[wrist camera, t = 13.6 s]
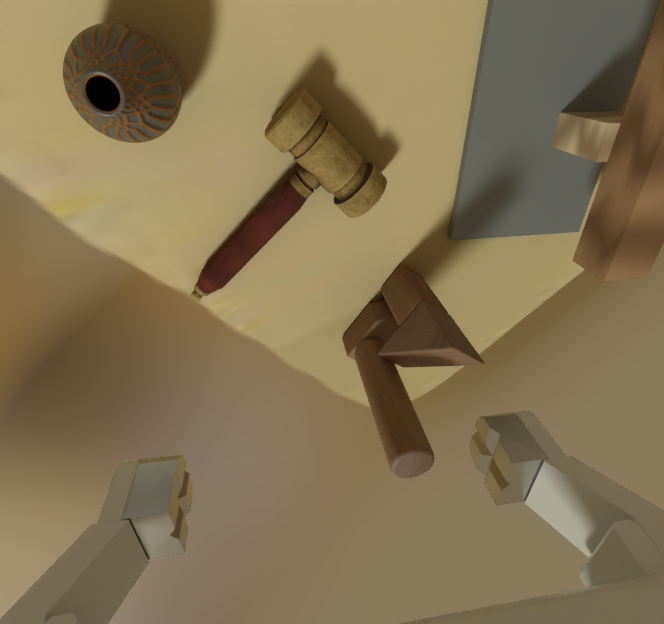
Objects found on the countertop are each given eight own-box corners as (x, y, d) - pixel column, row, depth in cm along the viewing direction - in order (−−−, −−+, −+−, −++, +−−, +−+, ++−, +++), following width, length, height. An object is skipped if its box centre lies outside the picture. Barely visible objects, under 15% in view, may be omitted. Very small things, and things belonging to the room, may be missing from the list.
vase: (200, 123, 32) (184, 146, 25) (113, 139, 32) (71, 167, 25) (168, 17, 28) (138, 8, 21) (68, 34, 28) (3, 30, 21)
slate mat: (490, -15, 30) (496, -16, 30) (656, -11, 32) (665, -12, 31) (448, 237, 41) (451, 240, 41) (573, 228, 43) (578, 231, 42)
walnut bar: (671, -24, 26) (732, -34, 23) (726, -23, 26) (793, -33, 23) (572, 260, 37) (603, 281, 34) (612, 257, 37) (646, 277, 34)
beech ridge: (559, 112, 35) (609, 123, 30) (621, 111, 36) (679, 121, 31) (550, 146, 37) (596, 162, 32) (609, 144, 38) (663, 159, 33)
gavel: (232, 338, 40) (140, 281, 36) (236, 312, 44) (153, 257, 39) (393, 188, 33) (304, 91, 28) (381, 171, 37) (301, 82, 32)
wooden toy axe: (424, 278, 44) (511, 398, 29) (365, 348, 48) (415, 485, 33) (398, 262, 42) (477, 381, 27) (340, 336, 46) (380, 475, 31)
